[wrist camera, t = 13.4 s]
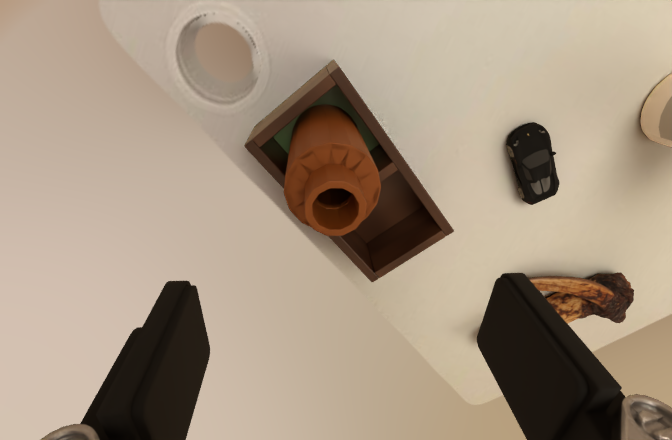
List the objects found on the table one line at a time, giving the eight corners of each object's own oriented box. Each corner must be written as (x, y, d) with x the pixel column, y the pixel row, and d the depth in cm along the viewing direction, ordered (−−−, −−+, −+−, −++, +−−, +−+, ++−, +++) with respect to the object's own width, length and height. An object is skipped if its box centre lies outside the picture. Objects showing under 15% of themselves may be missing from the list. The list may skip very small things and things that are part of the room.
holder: (363, 249, 37) (372, 283, 32) (254, 126, 30) (243, 146, 25) (433, 202, 35) (454, 231, 30) (333, 59, 28) (338, 66, 23)
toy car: (501, 133, 32) (513, 140, 30) (538, 115, 31) (553, 121, 29) (519, 203, 35) (531, 212, 33) (553, 188, 35) (566, 197, 33)
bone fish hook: (607, 231, 38) (456, 301, 41) (644, 254, 34) (473, 330, 37) (620, 289, 42) (481, 349, 45) (654, 315, 38) (498, 380, 41)
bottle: (280, 149, 30) (262, 227, 18) (312, 90, 28) (315, 137, 16) (335, 179, 32) (351, 268, 20) (370, 126, 30) (410, 191, 18)
